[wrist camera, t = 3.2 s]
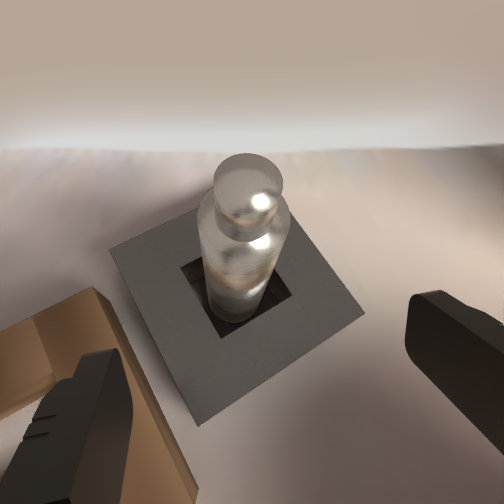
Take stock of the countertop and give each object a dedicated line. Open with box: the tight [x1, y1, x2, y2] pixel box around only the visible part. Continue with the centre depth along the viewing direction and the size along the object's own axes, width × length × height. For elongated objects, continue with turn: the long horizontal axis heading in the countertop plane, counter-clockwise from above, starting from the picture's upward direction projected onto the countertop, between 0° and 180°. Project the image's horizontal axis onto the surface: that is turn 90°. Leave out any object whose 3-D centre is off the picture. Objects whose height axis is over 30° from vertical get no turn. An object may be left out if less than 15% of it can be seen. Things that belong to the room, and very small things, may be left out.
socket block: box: [109, 208, 365, 427], centre depth 19 cm, size 10×10×3 cm
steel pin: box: [197, 153, 290, 323], centre depth 15 cm, size 3×3×12 cm
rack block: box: [0, 287, 199, 504], centre depth 15 cm, size 11×11×3 cm
